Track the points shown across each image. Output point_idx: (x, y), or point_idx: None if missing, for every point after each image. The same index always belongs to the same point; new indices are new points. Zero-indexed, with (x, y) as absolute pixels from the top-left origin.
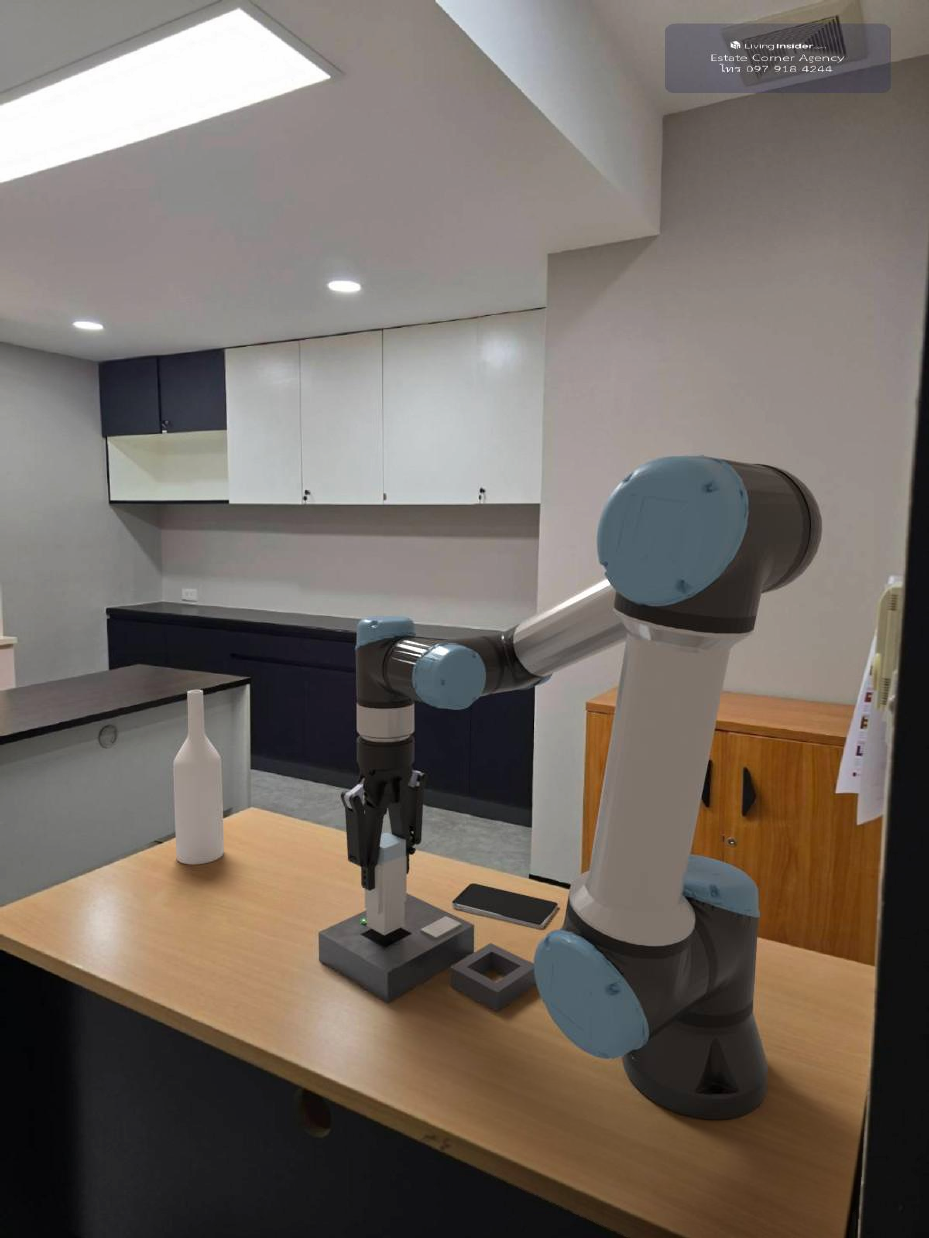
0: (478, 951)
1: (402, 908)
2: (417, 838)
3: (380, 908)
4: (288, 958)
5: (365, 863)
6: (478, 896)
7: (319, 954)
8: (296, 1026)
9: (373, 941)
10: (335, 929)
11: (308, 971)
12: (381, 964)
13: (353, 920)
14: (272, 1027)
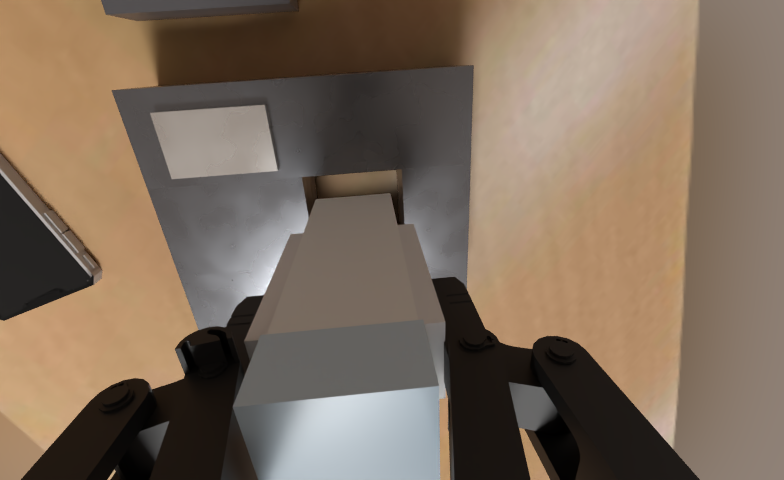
0: (168, 4)
1: (317, 217)
2: (115, 410)
3: (404, 231)
4: (484, 315)
5: (540, 347)
6: (11, 265)
7: None
8: (619, 133)
9: None
10: None
11: (487, 263)
12: (457, 110)
13: None
14: (644, 161)
